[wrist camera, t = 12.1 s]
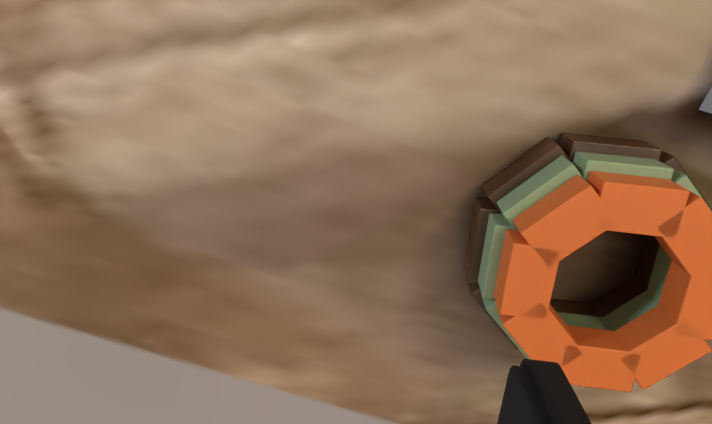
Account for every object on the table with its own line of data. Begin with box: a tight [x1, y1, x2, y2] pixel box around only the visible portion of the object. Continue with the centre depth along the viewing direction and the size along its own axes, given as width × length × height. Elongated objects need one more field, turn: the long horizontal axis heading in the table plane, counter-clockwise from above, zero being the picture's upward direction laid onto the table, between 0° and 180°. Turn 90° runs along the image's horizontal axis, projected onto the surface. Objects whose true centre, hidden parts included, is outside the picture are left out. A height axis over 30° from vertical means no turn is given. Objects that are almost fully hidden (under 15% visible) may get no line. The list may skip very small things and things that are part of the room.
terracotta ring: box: [493, 171, 712, 392], centre depth 26 cm, size 10×10×2 cm
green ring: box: [478, 151, 712, 359], centre depth 28 cm, size 11×11×2 cm
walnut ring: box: [464, 133, 712, 349], centre depth 30 cm, size 12×12×2 cm
